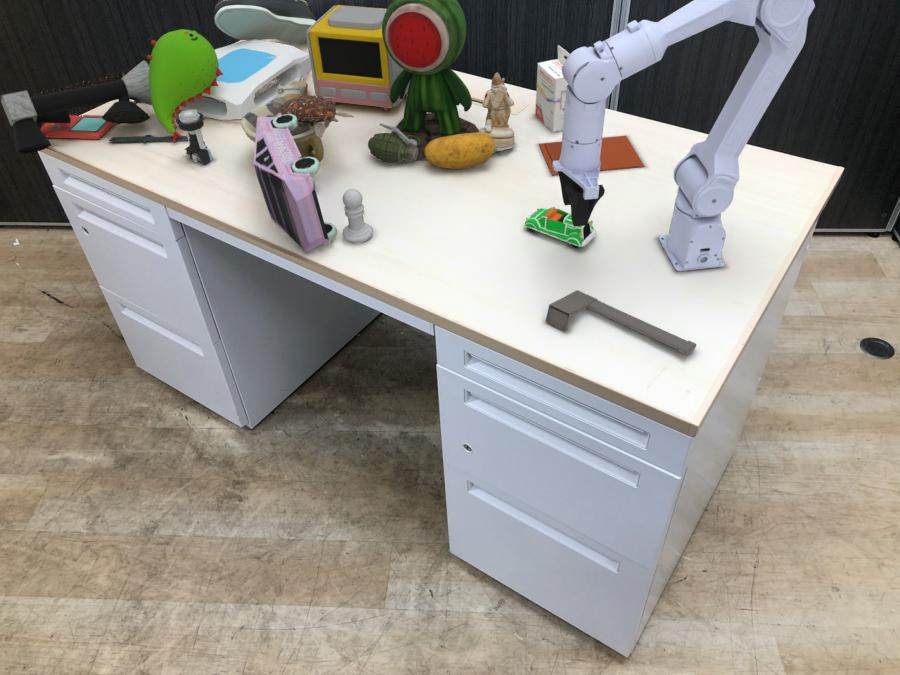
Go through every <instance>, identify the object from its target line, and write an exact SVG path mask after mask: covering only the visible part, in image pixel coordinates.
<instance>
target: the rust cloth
mask: <svg viewBox="0 0 900 675" xmlns="http://www.w3.org/2000/svg"><path fill="white" fill-rule="evenodd" d="M538 146H539V148H540V150H541V153H542V155H543V157H544V160H545V162H546V165H547V167H548V169H549V172H550V174H551V176H552V177H553V176H559V175H558V172H557V171H555V170H554V169H553V166H552V164H553V161H555V160H558V159H560V155H561V148H562V141H553V142H543V143H538ZM600 162H601V165H600V172H604V171H615V170H625V169H634V168H635V169H636V168H644V167H645V165H644V163H643V161H642V159H641V158H640V156H639V155H638V153H637V152H636V150H635V148H634V146H633V144H632V143H631V141H630V140H629V138H628V137H627V135H618V136H607V137H602V144H601V153H600Z"/></svg>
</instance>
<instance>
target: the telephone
mask: <svg viewBox="0 0 900 675" xmlns="http://www.w3.org/2000/svg"><path fill="white" fill-rule="evenodd" d="M149 64H150V63H148V62H147V61H146V60H141V62H140V63H138V64H137V65H136V66H134V67H133V68H132V69H131V70H130V69H129V70H127V72H126V71H124V70H123V71H122V72H121V73H120V72H116V76H115V74H114V73H111V74H110V77H109V76H108V75H107V74H106V75H105V78H103V76H100V77H99V78H98V79H97V78H95V77H94V78H93V81H92V80H90V79H88V81H87V84H86V82H85V81H84V80H83V81H82V84H80V83H79V82H76V86H75V85H74V84H73V83H70V84H69V86H68V85H64V86H63V87H64V88H62V87H58V90H57V89H55V88H52V89H51V90H49V89H46V93H45V92H43V91H40V93H39V94H38V93H34V96H33V95H30V94H29V92H28V90H27V89H26V90H21V91H15V92H10V93H4V94H1V95H0V103H1V106H2V108H3V111H4V113H5V115H6V117H7V119H8V122H9V125H10V127H11V128H13V137H14V145H15V146H14V147H15V148H14V149H15V153H16V154H17V155H26V154H27V155H28V154H32V153H36V152H41V151H45V150H46V149H49V148H50V147H51V146H52V143H51V141H50V140H49V139H48V137H46V136H45V135H44V134H43V132H42V131H41V130H40V129H41V127H42V124H43V123H70V117H69V115H70V114H69V111H68V110H74V109H78V108H82V107H88V106H94V105H97V104H101V103H102V104H103V103H109V102H112V101H115V102H114V103H112V105H111V106H110V107H109V108H108V110H106V112H104V114H102V115H101V116H102V119H103V120H105V121H108V122H112V123H115V124H116V125H132V124H133V125H135V124H140V123H144V122H146V121H148V120H150V118H151V116H150V115H149V113H147V111H145V110H144V109H143V108H142V107H140V106H139V105H138V104H137V103H134V100H135V101H137V102H139V103H142V104H146V105H151V106H153V105H152V101H151V96H150V88H149ZM118 77H120V78H121V79H119V78H118ZM108 79H109V81H108ZM114 79H115V80H114ZM102 81H103V83H102ZM97 83H98V84H97ZM85 84H86V86H85Z"/></svg>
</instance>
